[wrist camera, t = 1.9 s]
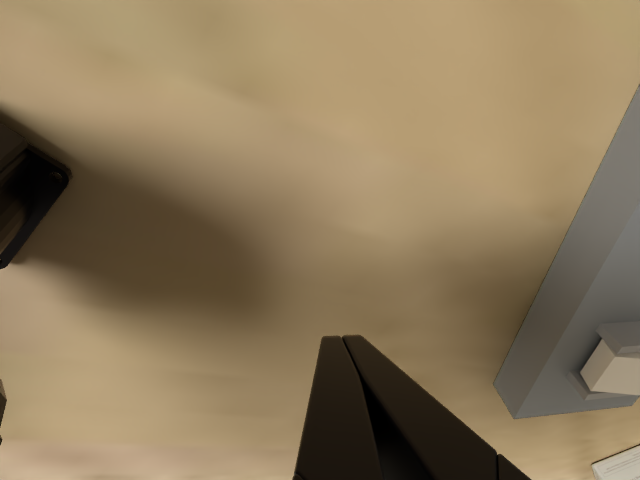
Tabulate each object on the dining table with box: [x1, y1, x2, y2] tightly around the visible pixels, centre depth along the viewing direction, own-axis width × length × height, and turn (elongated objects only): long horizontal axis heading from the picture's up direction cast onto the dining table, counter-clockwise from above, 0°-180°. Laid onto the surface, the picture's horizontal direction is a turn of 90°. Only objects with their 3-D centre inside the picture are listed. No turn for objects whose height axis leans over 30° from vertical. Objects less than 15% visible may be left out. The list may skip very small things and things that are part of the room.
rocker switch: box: [580, 339, 640, 395], centre depth 25 cm, size 5×3×1 cm, turn 86°
